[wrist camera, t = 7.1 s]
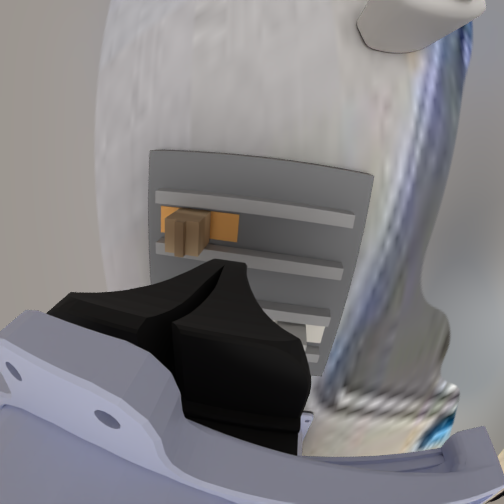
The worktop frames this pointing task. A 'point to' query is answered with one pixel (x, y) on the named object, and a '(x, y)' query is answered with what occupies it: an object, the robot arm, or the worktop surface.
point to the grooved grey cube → (295, 330)
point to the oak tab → (187, 232)
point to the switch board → (268, 231)
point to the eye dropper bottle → (413, 22)
